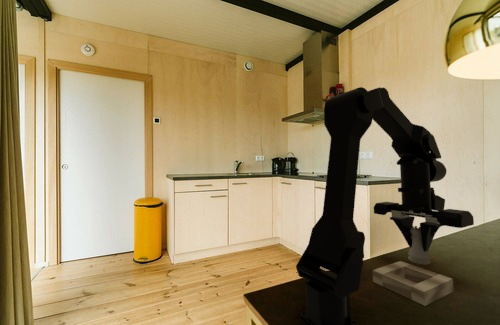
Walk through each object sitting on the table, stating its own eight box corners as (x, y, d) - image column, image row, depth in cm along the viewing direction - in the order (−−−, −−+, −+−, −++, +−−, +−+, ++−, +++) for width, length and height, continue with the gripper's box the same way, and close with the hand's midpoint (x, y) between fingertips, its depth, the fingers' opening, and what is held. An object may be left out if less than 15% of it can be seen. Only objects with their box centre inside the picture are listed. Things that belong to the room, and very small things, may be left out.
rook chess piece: (421, 266, 51) (419, 230, 51) (403, 259, 55) (401, 226, 55) (436, 263, 52) (434, 228, 52) (417, 256, 56) (415, 224, 56)
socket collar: (425, 306, 40) (424, 291, 40) (373, 281, 49) (372, 270, 49) (453, 291, 44) (452, 278, 44) (400, 271, 53) (400, 261, 53)
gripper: (483, 183, 49) (487, 255, 49) (396, 181, 66) (399, 234, 65) (457, 186, 44) (462, 266, 44) (371, 182, 61) (373, 240, 61)
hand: (418, 249), depth 54 cm, fingers closed on rook chess piece, 3 cm apart
